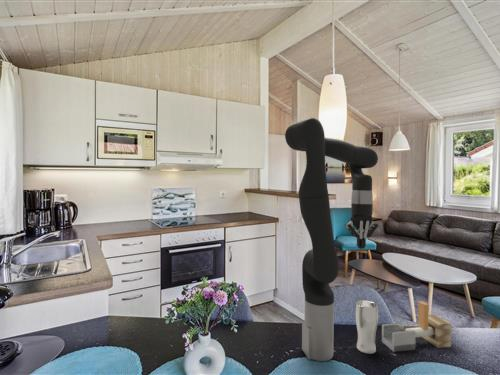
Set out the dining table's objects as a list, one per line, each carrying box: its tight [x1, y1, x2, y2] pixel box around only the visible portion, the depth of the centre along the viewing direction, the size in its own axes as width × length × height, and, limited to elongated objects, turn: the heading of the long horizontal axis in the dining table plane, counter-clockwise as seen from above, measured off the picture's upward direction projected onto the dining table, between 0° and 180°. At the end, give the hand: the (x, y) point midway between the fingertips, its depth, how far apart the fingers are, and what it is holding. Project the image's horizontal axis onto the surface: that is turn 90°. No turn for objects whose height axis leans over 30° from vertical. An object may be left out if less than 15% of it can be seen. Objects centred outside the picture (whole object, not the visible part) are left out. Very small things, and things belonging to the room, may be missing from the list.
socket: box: [421, 313, 452, 349], centre depth 102 cm, size 5×7×8 cm
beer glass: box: [355, 299, 379, 355], centre depth 97 cm, size 7×7×15 cm
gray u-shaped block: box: [381, 322, 417, 353], centre depth 99 cm, size 8×6×6 cm
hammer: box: [404, 300, 435, 338], centre depth 101 cm, size 12×3×12 cm, turn 100°
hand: (361, 248), depth 110 cm, fingers closed
